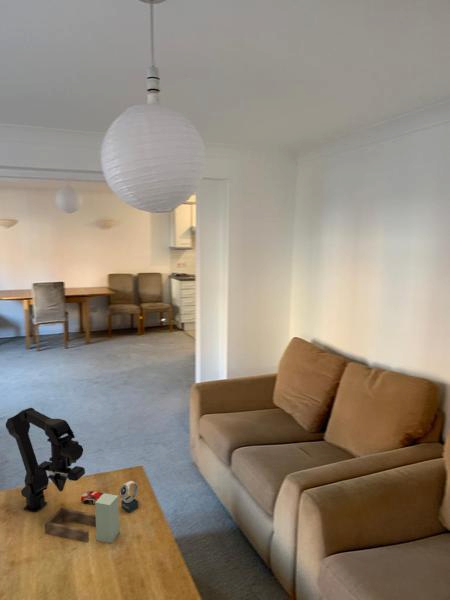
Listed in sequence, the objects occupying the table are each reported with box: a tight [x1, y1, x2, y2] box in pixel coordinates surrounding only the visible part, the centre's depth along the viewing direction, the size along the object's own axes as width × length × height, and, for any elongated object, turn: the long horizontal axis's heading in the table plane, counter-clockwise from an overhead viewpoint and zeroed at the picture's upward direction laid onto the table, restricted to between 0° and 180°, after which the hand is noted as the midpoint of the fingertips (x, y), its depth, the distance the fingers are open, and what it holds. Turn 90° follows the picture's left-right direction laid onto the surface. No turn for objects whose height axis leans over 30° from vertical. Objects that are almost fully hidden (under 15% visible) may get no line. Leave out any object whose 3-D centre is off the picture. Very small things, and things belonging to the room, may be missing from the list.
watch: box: [118, 480, 139, 513], centre depth 176 cm, size 6×8×11 cm
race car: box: [80, 490, 104, 506], centre depth 181 cm, size 13×5×4 cm, turn 77°
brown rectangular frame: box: [44, 507, 96, 543], centre depth 163 cm, size 18×10×4 cm, turn 74°
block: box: [94, 492, 120, 544], centre depth 158 cm, size 6×6×15 cm
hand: (61, 490), depth 168 cm, fingers closed
